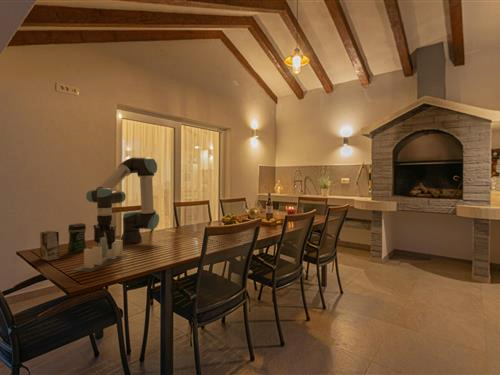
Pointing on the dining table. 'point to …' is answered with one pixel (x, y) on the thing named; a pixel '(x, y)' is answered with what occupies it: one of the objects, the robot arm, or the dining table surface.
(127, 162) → the robot arm
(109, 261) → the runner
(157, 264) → the dining table surface
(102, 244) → the domino
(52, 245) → the coffee box
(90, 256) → the domino
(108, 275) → the dining table surface
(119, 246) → the domino
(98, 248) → the domino
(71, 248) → the coffee jar
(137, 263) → the dining table surface
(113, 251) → the domino
